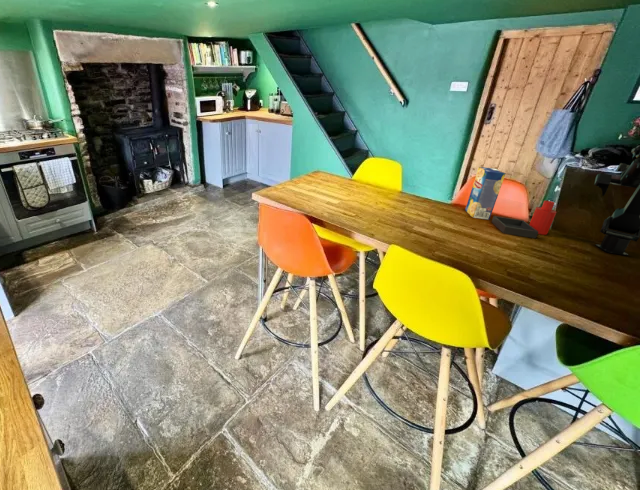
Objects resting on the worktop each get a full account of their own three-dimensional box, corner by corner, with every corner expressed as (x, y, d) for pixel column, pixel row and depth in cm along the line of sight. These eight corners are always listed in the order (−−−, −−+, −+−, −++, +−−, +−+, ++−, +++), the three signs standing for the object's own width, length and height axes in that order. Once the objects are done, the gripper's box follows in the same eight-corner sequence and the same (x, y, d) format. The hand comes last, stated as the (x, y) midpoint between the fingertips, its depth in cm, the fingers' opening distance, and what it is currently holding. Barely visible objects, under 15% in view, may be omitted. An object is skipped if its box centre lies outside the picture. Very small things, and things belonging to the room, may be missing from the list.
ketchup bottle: (550, 235, 125) (563, 205, 120) (531, 232, 127) (544, 202, 122) (542, 230, 131) (554, 200, 126) (524, 227, 132) (536, 198, 128)
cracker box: (480, 212, 149) (495, 168, 141) (489, 219, 139) (505, 173, 131) (465, 209, 151) (478, 166, 143) (472, 217, 141) (487, 171, 133)
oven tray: (535, 238, 121) (538, 231, 120) (503, 233, 125) (505, 226, 124) (520, 226, 133) (523, 220, 132) (491, 222, 136) (493, 215, 135)
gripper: (676, 162, 117) (652, 190, 127) (606, 154, 128) (590, 181, 139) (675, 181, 112) (651, 209, 123) (603, 171, 124) (586, 197, 134)
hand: (618, 198), depth 130 cm, fingers open, 9 cm apart
